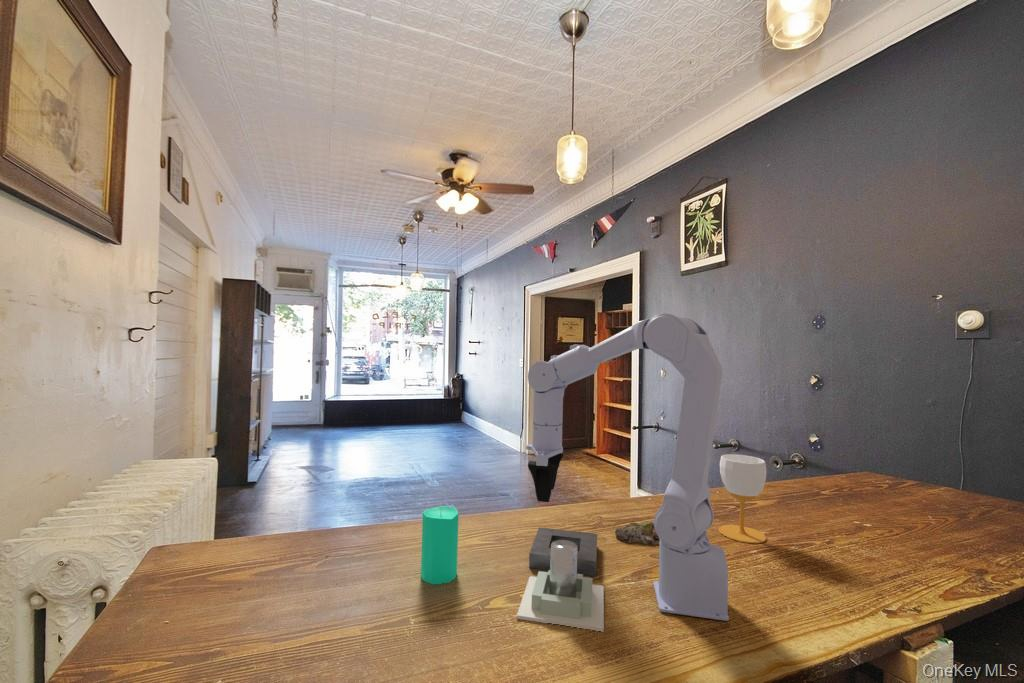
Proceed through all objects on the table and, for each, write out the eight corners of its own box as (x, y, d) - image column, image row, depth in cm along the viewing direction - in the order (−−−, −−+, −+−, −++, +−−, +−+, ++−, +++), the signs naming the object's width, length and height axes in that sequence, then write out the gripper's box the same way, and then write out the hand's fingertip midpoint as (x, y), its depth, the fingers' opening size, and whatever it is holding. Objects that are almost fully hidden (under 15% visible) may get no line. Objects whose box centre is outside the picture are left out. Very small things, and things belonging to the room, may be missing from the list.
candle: (422, 586, 68) (424, 510, 69) (419, 568, 74) (421, 498, 74) (459, 582, 70) (461, 507, 70) (454, 564, 76) (456, 495, 76)
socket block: (596, 546, 84) (597, 533, 84) (595, 576, 73) (596, 561, 73) (538, 539, 86) (538, 527, 86) (529, 567, 75) (529, 553, 75)
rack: (603, 589, 69) (603, 573, 69) (603, 632, 58) (603, 613, 58) (529, 579, 71) (530, 563, 71) (516, 618, 60) (517, 600, 61)
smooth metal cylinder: (576, 593, 66) (578, 541, 66) (575, 608, 62) (576, 553, 62) (550, 590, 67) (552, 538, 67) (547, 604, 63) (549, 550, 63)
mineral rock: (652, 517, 95) (671, 521, 87) (655, 538, 93) (674, 544, 86) (606, 521, 93) (621, 525, 85) (608, 543, 91) (624, 549, 84)
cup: (710, 531, 93) (711, 456, 93) (731, 522, 98) (731, 452, 98) (754, 547, 85) (755, 466, 86) (774, 536, 91) (774, 460, 91)
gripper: (533, 417, 91) (531, 481, 90) (520, 428, 77) (518, 505, 76) (566, 419, 89) (565, 484, 89) (559, 431, 75) (558, 509, 75)
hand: (546, 494), depth 83 cm, fingers open, 7 cm apart
